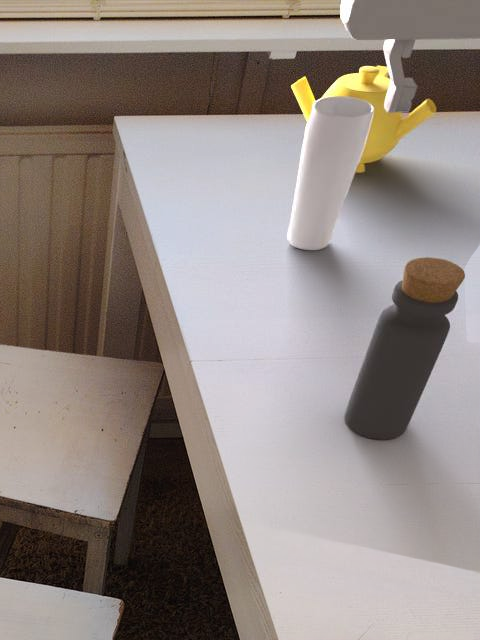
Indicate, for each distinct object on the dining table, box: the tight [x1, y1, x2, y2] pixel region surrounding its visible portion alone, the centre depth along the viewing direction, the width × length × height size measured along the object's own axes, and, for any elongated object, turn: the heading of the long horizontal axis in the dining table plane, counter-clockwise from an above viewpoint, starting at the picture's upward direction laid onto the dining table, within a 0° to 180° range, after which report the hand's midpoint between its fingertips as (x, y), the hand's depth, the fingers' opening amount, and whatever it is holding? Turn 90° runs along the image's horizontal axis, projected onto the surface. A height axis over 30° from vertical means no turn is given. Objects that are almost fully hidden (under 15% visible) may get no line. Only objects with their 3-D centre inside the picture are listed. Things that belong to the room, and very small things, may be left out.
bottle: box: [344, 256, 466, 441], centre depth 73 cm, size 6×6×15 cm
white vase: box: [286, 96, 374, 251], centre depth 97 cm, size 7×7×15 cm
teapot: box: [290, 65, 437, 174], centre depth 114 cm, size 20×18×11 cm
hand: (463, 110), depth 59 cm, fingers open, 8 cm apart
